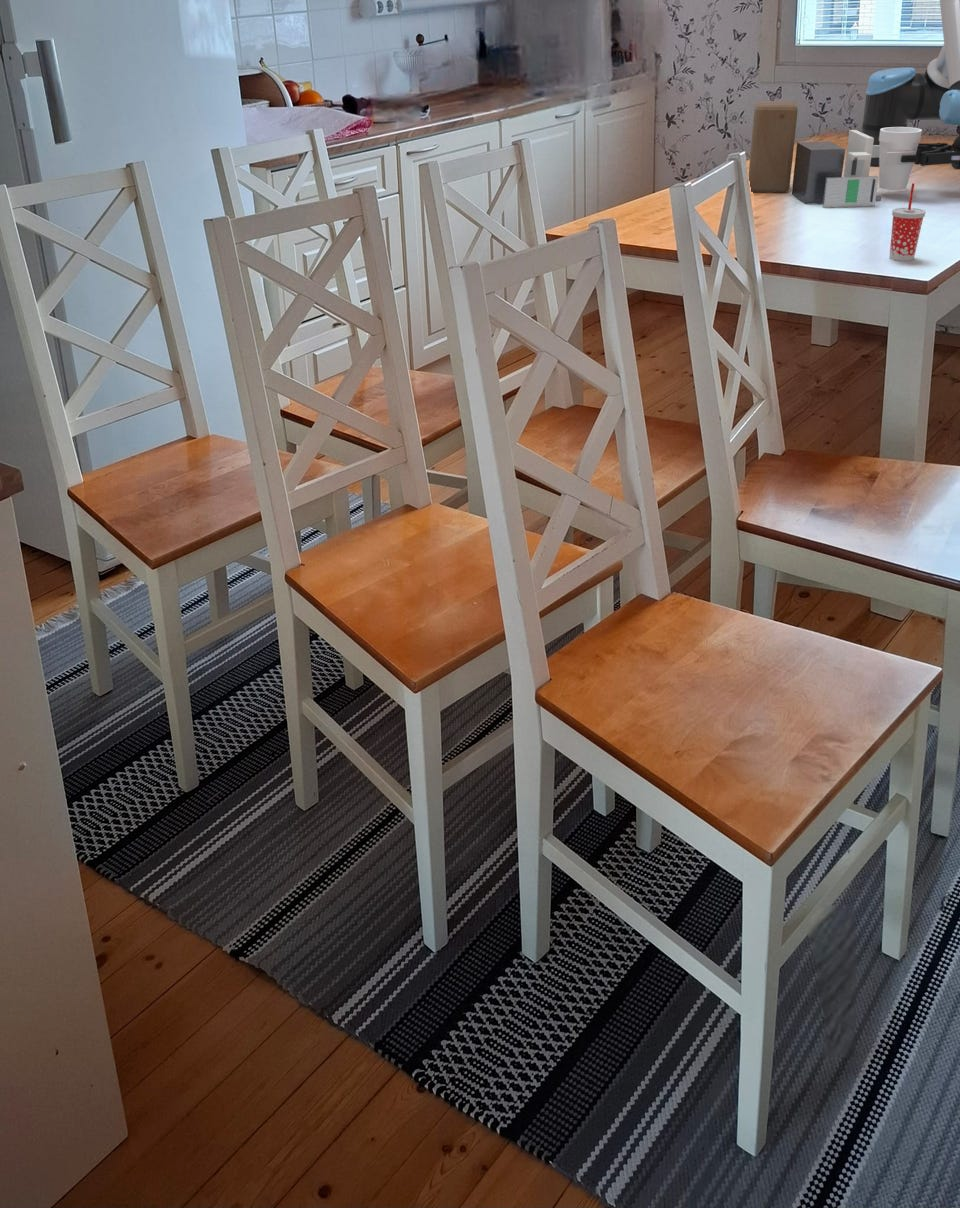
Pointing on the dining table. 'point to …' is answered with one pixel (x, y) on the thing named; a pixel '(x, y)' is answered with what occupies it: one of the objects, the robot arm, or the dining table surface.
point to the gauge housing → (829, 178)
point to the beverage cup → (905, 231)
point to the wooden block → (772, 146)
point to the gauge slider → (858, 154)
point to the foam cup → (896, 142)
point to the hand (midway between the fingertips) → (879, 155)
